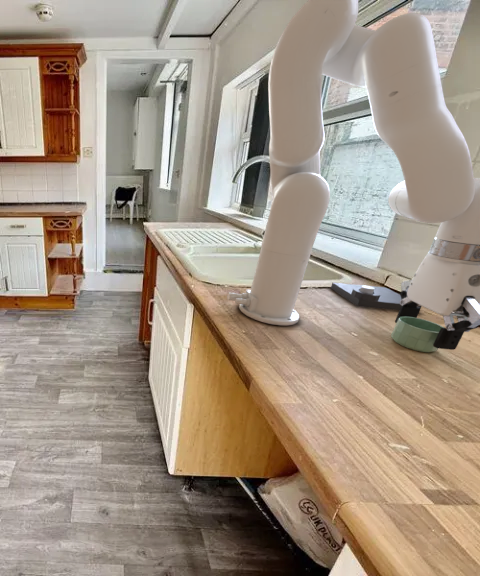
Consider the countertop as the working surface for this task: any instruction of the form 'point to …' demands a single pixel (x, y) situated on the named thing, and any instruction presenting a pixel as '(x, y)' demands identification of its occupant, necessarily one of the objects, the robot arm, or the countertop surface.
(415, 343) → the bowl
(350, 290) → the scale
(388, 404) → the countertop surface
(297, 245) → the robot arm
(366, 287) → the tare button
